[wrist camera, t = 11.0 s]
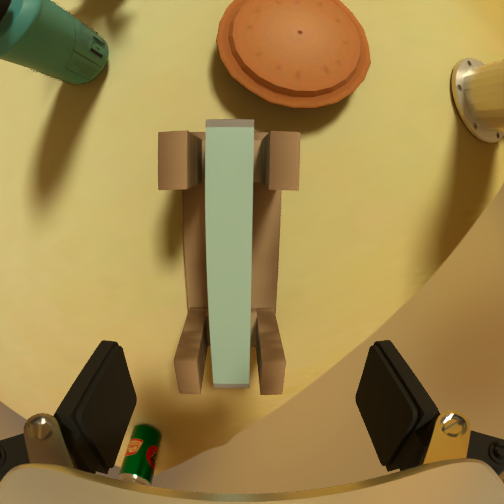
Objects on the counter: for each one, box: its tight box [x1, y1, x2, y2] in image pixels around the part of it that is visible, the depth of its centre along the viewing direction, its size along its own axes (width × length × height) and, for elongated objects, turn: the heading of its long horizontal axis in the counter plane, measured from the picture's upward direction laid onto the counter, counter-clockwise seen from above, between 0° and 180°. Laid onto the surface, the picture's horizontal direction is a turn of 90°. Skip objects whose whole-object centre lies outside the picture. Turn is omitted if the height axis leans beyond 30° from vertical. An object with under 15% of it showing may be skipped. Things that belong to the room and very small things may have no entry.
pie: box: [216, 0, 371, 108], centre depth 23 cm, size 15×16×5 cm
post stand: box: [158, 131, 300, 395], centre depth 26 cm, size 10×24×11 cm, turn 179°
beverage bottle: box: [0, 0, 109, 84], centre depth 15 cm, size 6×7×20 cm
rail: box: [205, 119, 254, 388], centre depth 26 cm, size 4×24×6 cm, turn 179°
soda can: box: [119, 424, 161, 486], centre depth 35 cm, size 5×5×12 cm
